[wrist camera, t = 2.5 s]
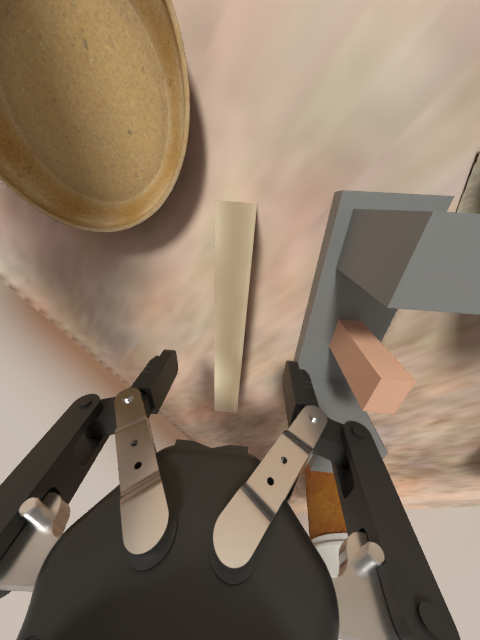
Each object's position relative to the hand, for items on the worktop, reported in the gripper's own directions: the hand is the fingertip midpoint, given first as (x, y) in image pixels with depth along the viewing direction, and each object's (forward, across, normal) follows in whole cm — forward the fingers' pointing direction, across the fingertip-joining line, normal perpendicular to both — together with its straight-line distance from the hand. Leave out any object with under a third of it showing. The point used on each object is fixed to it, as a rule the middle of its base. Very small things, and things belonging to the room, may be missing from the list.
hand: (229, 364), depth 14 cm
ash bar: (+7, 0, 0) cm, 7 cm away
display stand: (+7, -10, 0) cm, 12 cm away
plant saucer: (+7, +10, -15) cm, 20 cm away
